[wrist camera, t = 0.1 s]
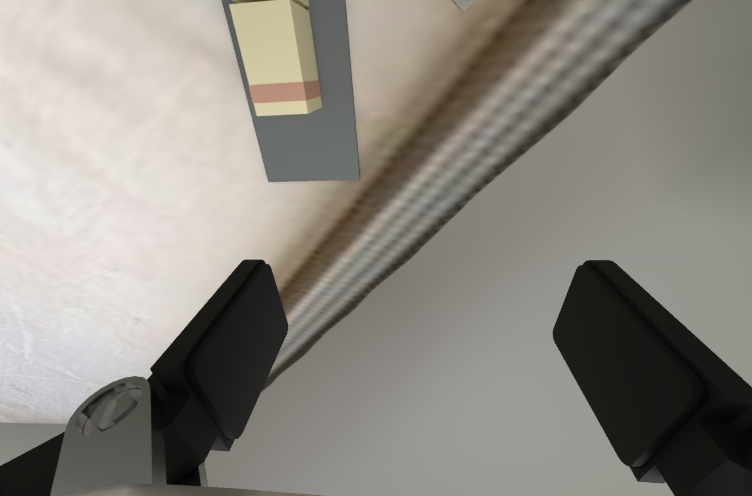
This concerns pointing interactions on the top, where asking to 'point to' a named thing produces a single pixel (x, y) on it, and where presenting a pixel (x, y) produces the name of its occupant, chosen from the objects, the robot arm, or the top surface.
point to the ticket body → (300, 0)
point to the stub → (278, 56)
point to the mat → (321, 127)
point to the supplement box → (463, 4)
